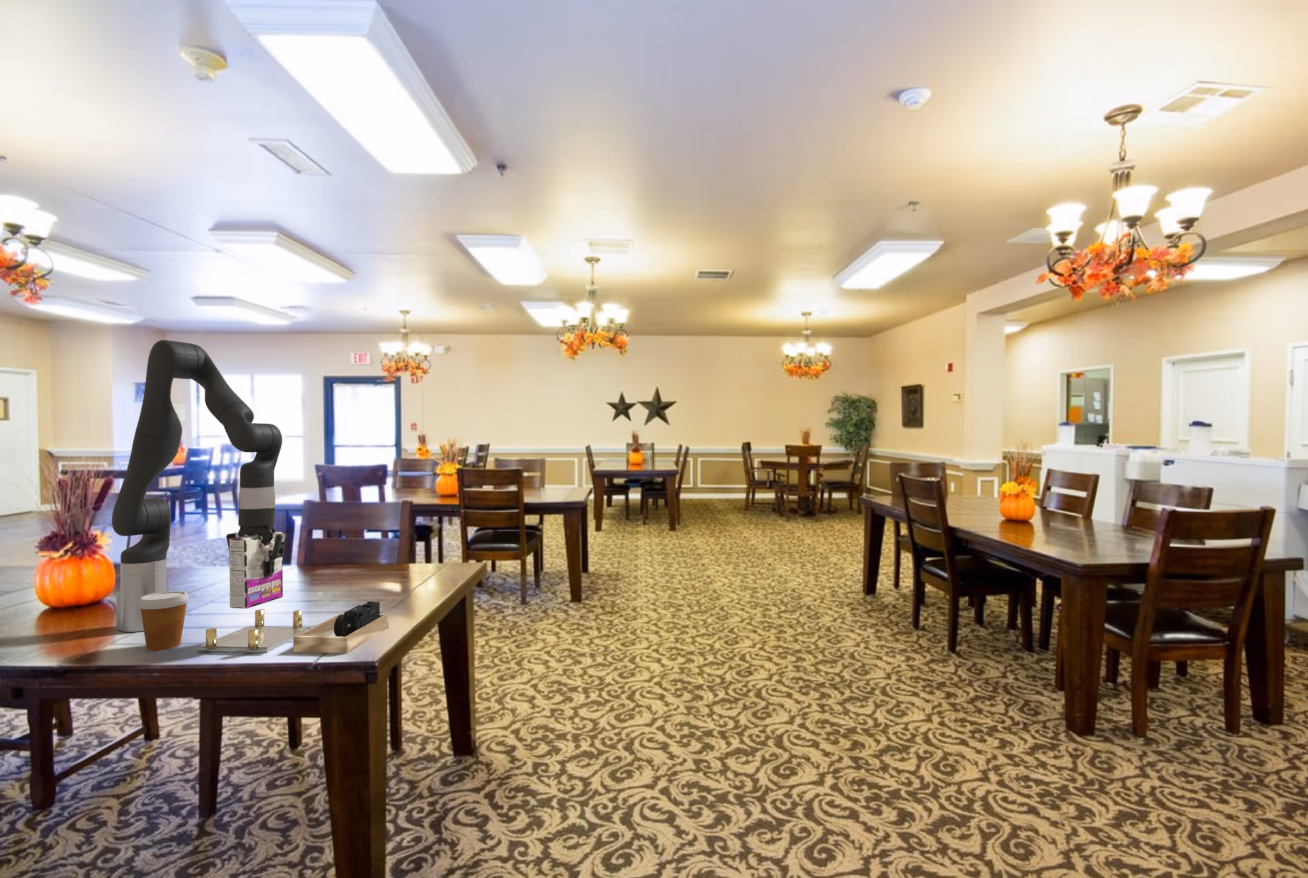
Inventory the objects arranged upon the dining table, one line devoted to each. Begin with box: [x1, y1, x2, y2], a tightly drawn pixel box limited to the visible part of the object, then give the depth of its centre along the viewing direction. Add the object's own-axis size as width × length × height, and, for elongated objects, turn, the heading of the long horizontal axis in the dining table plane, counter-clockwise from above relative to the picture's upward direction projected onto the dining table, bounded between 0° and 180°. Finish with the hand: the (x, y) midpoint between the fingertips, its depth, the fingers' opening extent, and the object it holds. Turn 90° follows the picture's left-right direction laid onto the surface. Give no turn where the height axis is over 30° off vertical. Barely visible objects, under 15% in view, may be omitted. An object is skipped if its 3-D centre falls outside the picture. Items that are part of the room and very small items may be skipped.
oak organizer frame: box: [292, 612, 390, 654], centre depth 151 cm, size 13×20×4 cm, turn 177°
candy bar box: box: [228, 531, 284, 610], centre depth 150 cm, size 11×5×16 cm, turn 169°
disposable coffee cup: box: [138, 590, 190, 652], centre depth 146 cm, size 10×10×12 cm
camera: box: [333, 600, 381, 637], centre depth 154 cm, size 14×7×8 cm, turn 178°
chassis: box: [194, 608, 312, 654], centre depth 150 cm, size 16×18×5 cm
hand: (256, 575), depth 150 cm, fingers closed on candy bar box, 5 cm apart
